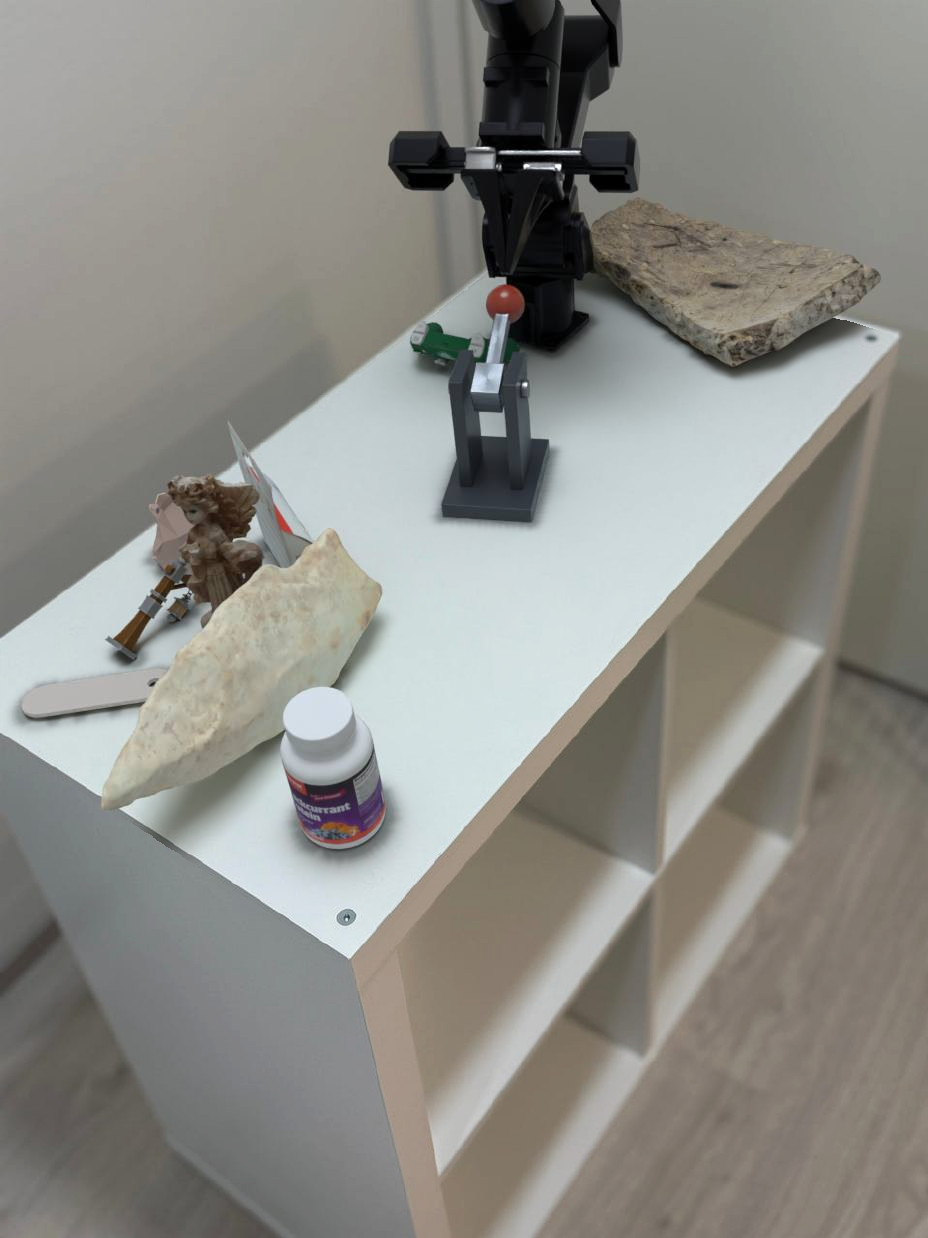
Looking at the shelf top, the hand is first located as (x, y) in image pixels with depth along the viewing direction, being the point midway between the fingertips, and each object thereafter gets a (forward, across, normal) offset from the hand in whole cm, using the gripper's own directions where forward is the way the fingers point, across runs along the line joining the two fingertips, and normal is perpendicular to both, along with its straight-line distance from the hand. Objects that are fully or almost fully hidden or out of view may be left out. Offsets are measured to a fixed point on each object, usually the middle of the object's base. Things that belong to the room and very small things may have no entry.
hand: (506, 273), depth 96 cm
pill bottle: (+39, +3, +20) cm, 44 cm away
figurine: (+30, +14, +11) cm, 35 cm away
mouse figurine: (+24, +21, +5) cm, 32 cm away
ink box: (+24, +13, +5) cm, 28 cm away
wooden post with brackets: (+29, +22, +10) cm, 38 cm away
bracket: (+16, 0, -4) cm, 16 cm away
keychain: (+35, +23, +16) cm, 45 cm away
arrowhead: (+23, +9, +10) cm, 27 cm away
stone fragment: (-2, -9, -17) cm, 19 cm away
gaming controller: (+4, +6, -16) cm, 17 cm away
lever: (+6, 0, 0) cm, 6 cm away
